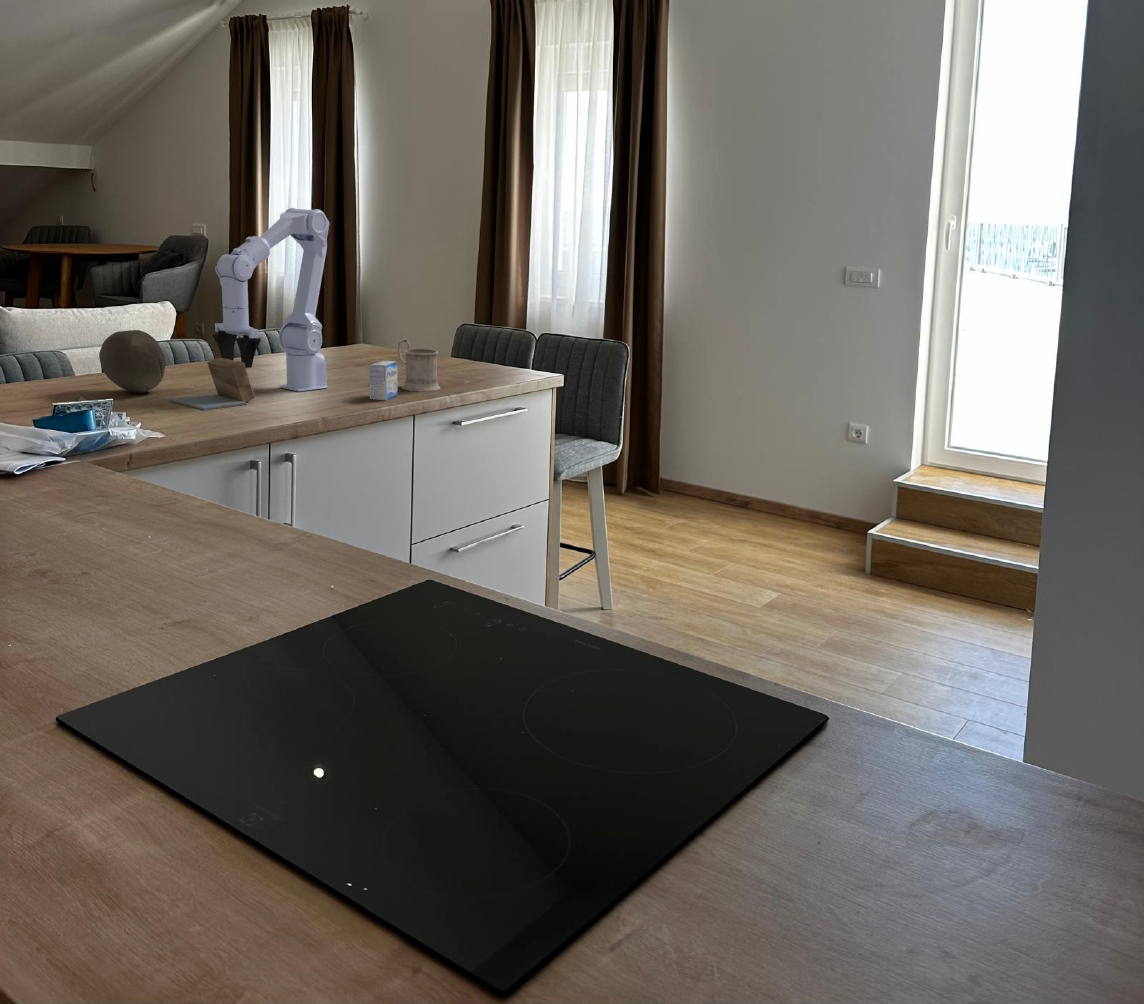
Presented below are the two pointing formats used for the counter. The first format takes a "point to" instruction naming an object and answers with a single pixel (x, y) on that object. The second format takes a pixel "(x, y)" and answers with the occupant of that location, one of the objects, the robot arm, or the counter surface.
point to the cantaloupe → (133, 360)
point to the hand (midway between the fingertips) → (237, 365)
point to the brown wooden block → (231, 379)
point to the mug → (420, 368)
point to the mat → (208, 401)
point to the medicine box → (383, 380)
